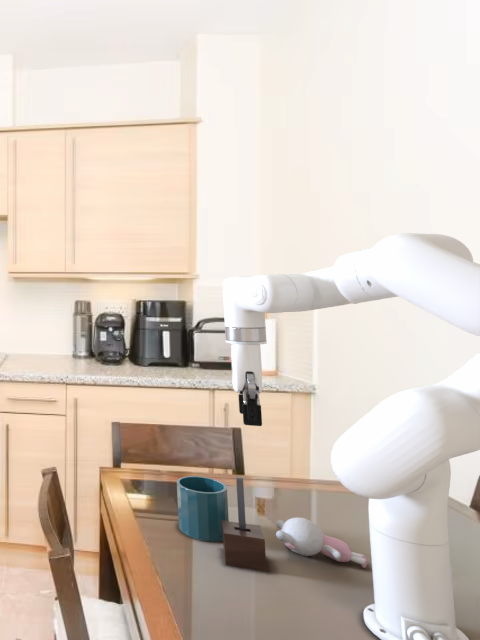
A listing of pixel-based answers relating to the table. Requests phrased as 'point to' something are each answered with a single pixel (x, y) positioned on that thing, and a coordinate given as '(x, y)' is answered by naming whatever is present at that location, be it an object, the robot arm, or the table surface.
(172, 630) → the table surface
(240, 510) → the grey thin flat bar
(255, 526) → the utensil block
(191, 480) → the teal cylindrical cup
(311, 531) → the toy
